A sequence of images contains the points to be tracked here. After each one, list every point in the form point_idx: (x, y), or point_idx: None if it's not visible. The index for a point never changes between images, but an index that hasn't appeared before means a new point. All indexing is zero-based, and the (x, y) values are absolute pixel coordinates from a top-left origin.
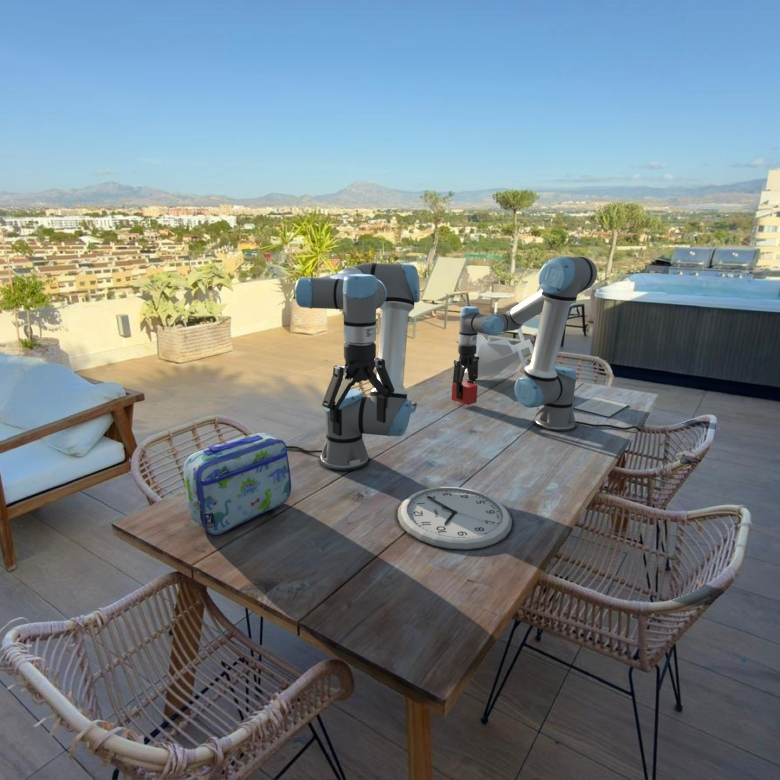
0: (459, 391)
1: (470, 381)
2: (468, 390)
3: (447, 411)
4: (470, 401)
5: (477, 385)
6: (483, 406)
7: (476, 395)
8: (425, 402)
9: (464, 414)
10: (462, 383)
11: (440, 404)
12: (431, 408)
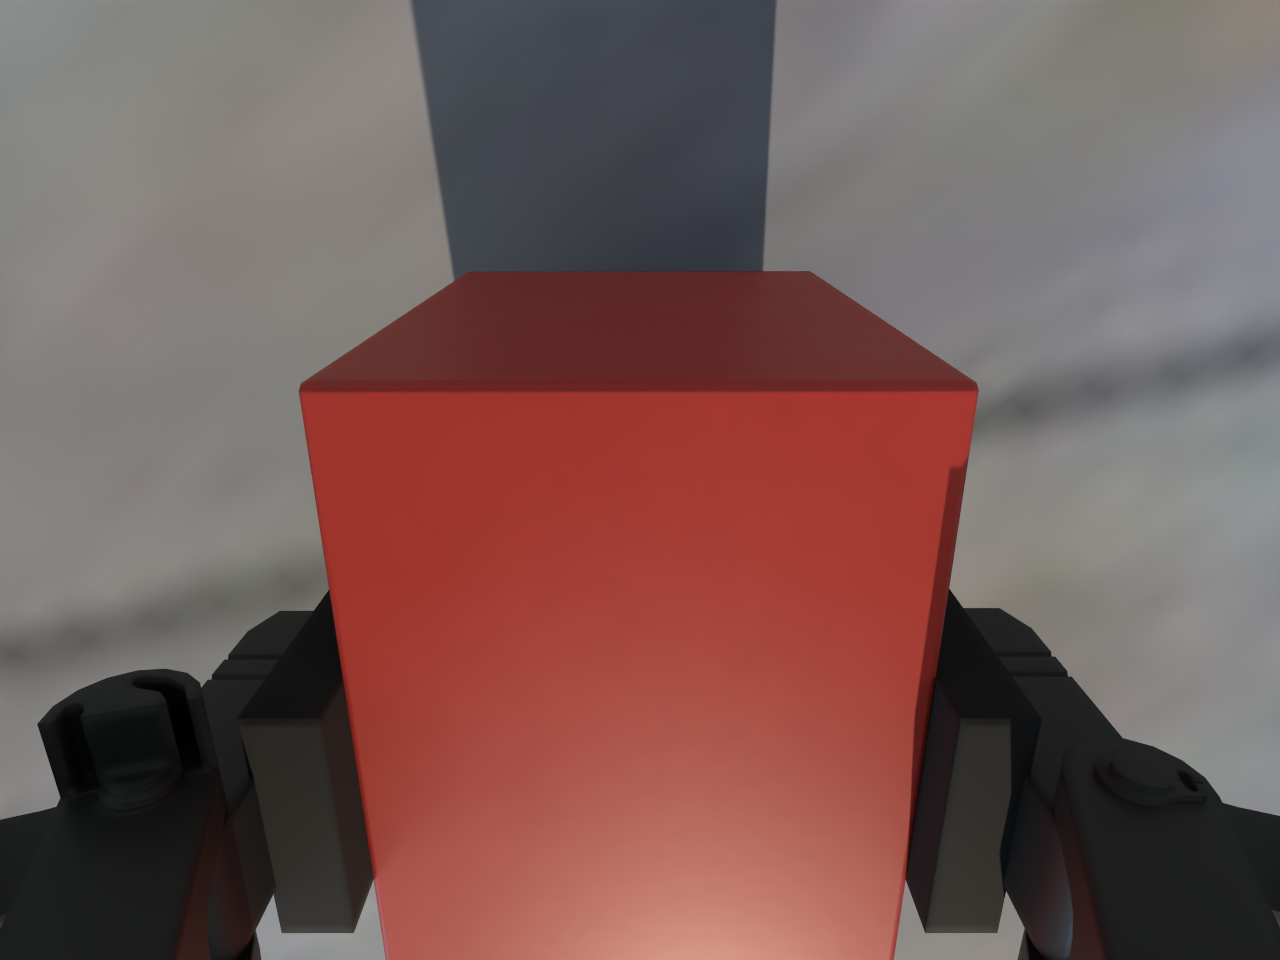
0: (973, 613)
1: (333, 804)
2: (923, 352)
3: (1156, 441)
4: (707, 282)
5: (318, 380)
6: (328, 171)
7: (447, 301)
8: (1002, 928)
9: (1088, 83)
10: (664, 876)
11: None
12: (1198, 709)
